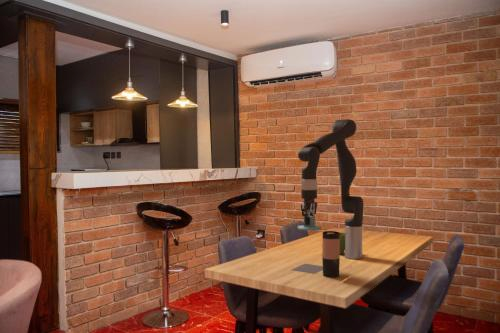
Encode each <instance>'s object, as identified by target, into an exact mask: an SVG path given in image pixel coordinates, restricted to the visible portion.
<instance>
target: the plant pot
mask: <svg viewBox="0 0 500 333" xmlns="http://www.w3.org/2000/svg"><path fill="white" fill-rule="evenodd" d="M338 232H339V240H340V255H345V232H341V231H338Z"/></svg>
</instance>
